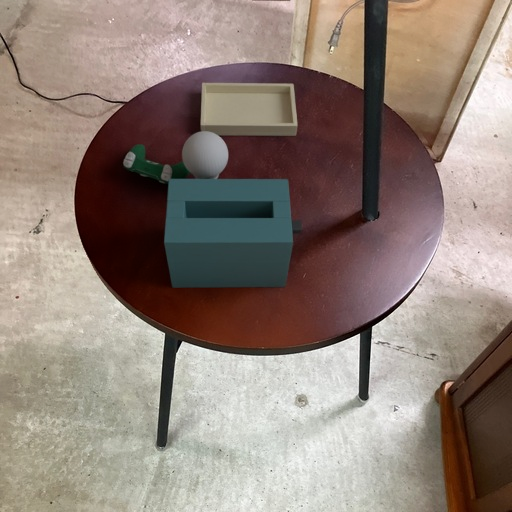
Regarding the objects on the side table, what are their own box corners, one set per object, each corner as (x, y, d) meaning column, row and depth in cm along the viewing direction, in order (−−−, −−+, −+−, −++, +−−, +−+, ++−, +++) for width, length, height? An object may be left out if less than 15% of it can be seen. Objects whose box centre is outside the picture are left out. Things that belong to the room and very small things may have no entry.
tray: (201, 135, 82) (200, 125, 80) (202, 93, 87) (202, 82, 85) (296, 136, 83) (297, 125, 81) (292, 94, 87) (293, 83, 86)
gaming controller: (133, 168, 80) (112, 169, 74) (139, 142, 79) (119, 141, 74) (190, 188, 79) (174, 190, 73) (197, 162, 78) (181, 163, 72)
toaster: (172, 287, 68) (164, 242, 59) (175, 228, 73) (168, 178, 64) (298, 287, 69) (307, 242, 60) (293, 228, 73) (301, 179, 65)
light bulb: (236, 195, 76) (237, 144, 68) (198, 213, 74) (194, 162, 66) (215, 167, 79) (213, 115, 70) (178, 184, 77) (171, 131, 68)
